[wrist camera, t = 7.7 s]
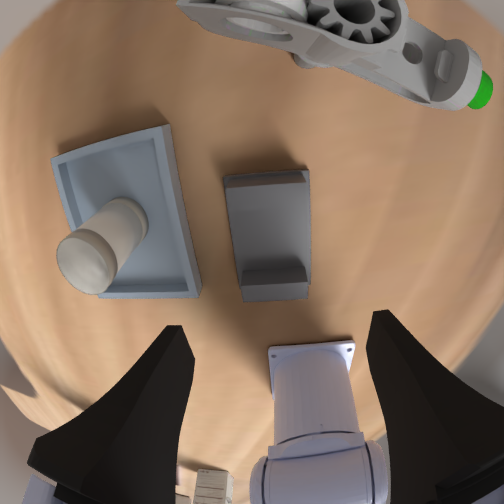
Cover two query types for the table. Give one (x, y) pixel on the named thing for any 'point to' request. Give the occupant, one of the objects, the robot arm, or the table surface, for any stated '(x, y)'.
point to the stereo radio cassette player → (182, 499)
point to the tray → (148, 196)
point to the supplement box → (213, 487)
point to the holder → (271, 233)
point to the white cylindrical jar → (102, 245)
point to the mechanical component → (357, 44)
